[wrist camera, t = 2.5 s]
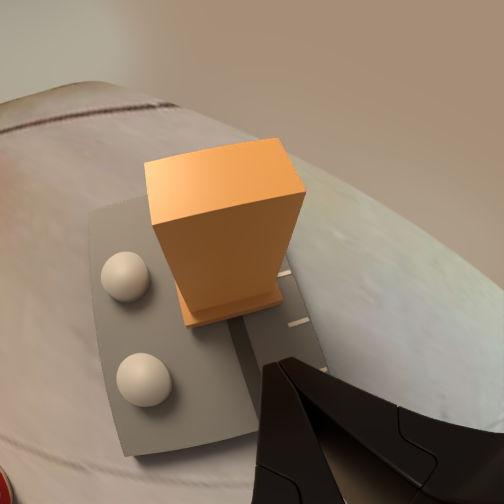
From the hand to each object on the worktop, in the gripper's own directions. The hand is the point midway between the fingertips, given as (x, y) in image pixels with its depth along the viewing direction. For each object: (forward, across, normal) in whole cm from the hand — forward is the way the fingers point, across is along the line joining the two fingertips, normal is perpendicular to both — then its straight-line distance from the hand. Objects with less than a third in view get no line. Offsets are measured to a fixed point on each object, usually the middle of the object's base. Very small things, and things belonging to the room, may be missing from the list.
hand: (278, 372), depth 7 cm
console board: (+10, +2, +3) cm, 11 cm away
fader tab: (+9, 0, +1) cm, 9 cm away
